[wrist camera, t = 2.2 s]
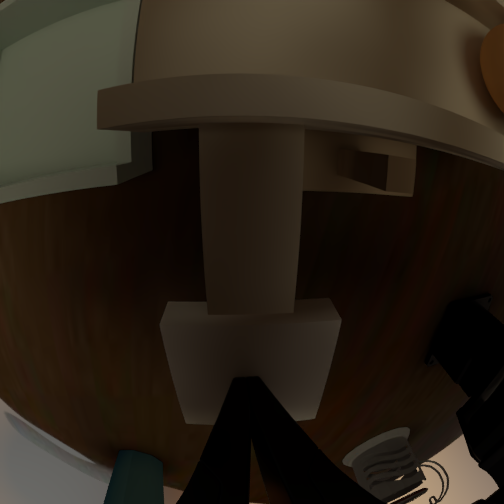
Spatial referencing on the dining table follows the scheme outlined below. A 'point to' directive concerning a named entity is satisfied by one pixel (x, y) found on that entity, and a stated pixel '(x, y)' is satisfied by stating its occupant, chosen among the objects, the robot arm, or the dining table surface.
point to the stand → (357, 164)
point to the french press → (382, 457)
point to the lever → (289, 155)
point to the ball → (494, 64)
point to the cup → (136, 479)
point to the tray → (65, 96)
